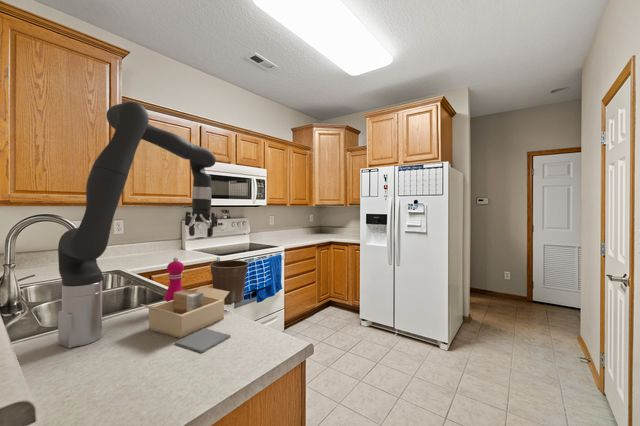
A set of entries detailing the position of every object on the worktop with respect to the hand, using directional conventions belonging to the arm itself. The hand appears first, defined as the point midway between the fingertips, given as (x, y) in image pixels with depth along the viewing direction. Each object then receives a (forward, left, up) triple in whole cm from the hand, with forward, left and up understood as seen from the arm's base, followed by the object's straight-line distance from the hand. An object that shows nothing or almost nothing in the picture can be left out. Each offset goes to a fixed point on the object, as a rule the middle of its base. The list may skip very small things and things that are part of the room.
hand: (200, 236), depth 122 cm
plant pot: (+6, -10, -28) cm, 30 cm away
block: (-19, -15, -27) cm, 36 cm away
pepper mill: (-11, +2, -28) cm, 30 cm away
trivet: (-25, -30, -28) cm, 48 cm away
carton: (-19, -15, -28) cm, 37 cm away
